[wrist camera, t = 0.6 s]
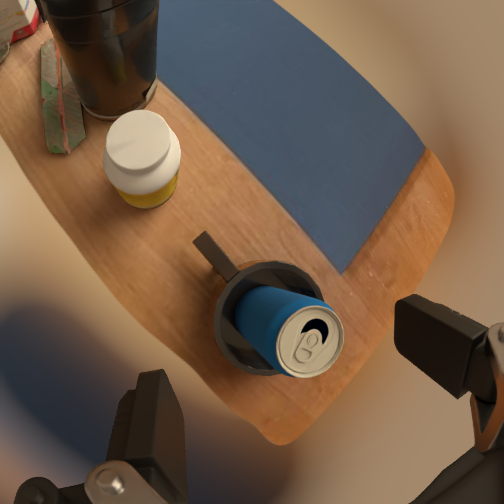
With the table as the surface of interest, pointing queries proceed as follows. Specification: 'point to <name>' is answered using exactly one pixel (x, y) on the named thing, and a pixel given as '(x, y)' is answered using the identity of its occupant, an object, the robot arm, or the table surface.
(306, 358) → the beverage can
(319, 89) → the table surface
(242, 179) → the table surface
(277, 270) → the pan
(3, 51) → the decorative insect model
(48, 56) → the map
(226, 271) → the pan handle
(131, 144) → the pill bottle
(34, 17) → the ink box
